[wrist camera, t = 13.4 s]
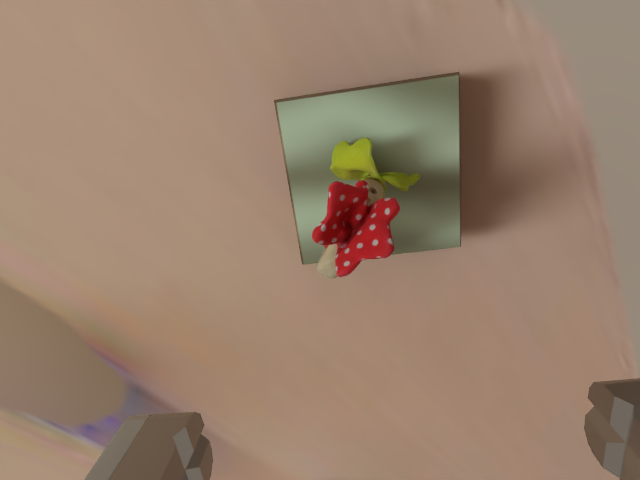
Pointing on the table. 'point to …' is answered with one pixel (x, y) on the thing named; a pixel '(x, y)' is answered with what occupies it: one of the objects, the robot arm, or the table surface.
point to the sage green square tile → (379, 155)
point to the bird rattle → (357, 210)
